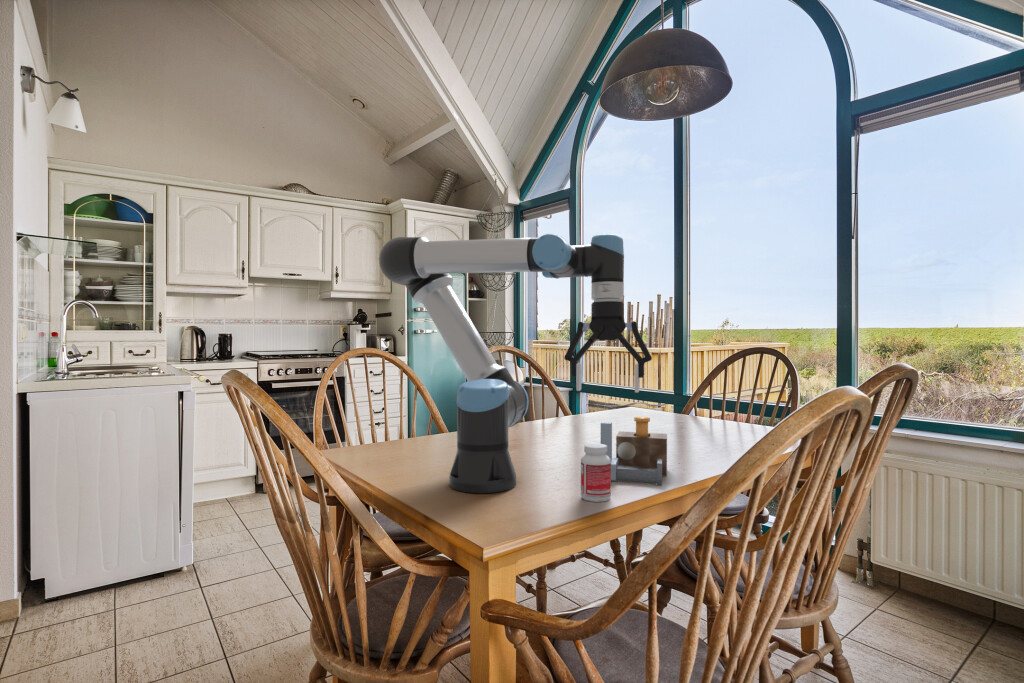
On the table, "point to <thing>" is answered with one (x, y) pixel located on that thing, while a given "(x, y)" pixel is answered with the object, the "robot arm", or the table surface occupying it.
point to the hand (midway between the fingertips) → (607, 391)
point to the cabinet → (641, 450)
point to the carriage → (609, 445)
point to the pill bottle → (595, 473)
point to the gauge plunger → (642, 426)
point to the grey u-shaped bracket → (640, 474)
